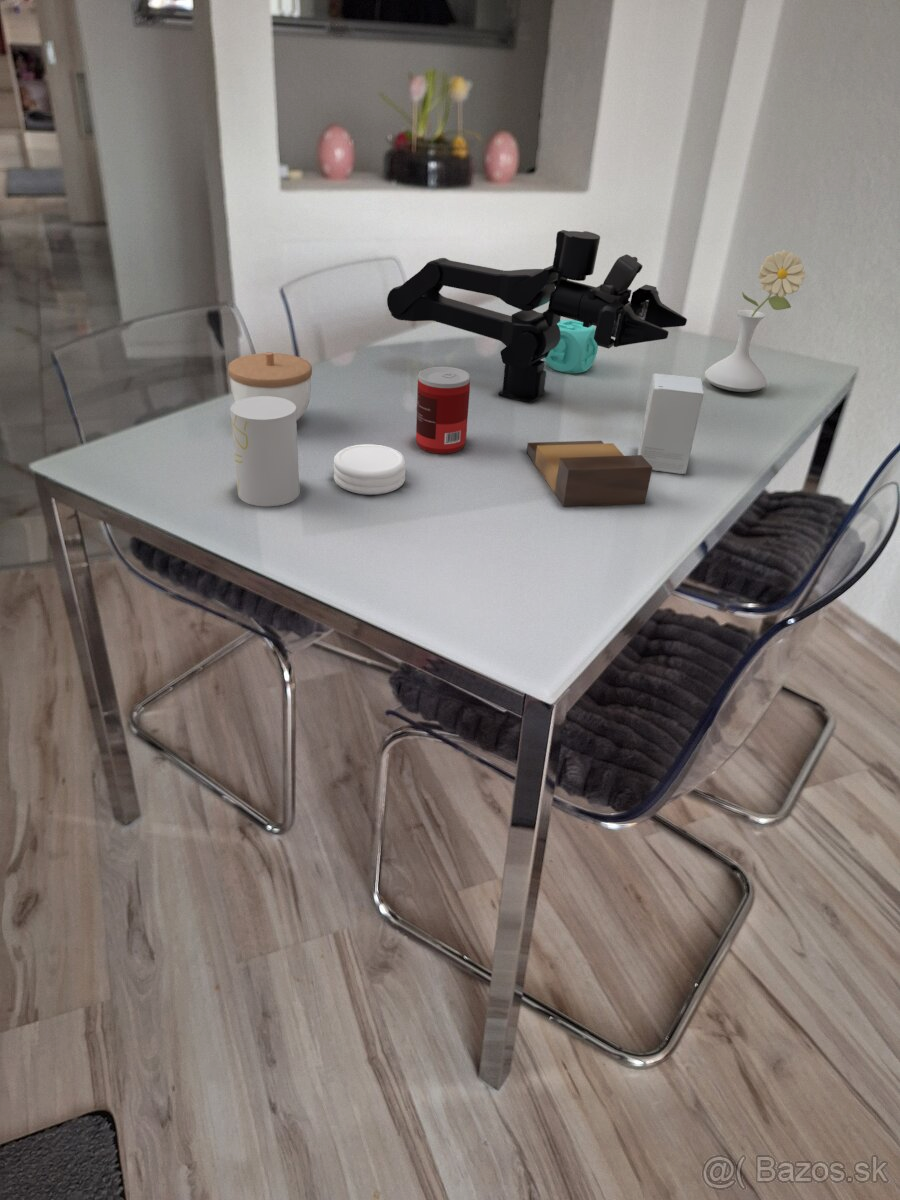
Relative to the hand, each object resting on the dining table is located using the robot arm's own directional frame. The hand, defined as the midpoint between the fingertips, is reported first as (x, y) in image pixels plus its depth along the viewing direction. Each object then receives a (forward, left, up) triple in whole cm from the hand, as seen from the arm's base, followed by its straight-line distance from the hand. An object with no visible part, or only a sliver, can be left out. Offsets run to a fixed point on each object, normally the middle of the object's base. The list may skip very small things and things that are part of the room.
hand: (677, 328), depth 134 cm
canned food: (-26, -27, -17) cm, 41 cm away
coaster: (-28, -44, -17) cm, 55 cm away
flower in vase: (+7, +30, -17) cm, 35 cm away
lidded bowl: (-52, -35, -17) cm, 65 cm away
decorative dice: (-24, +21, -17) cm, 36 cm away
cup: (-37, -55, -17) cm, 69 cm away
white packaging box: (+5, -13, -17) cm, 22 cm away
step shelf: (-3, -25, -17) cm, 30 cm away
